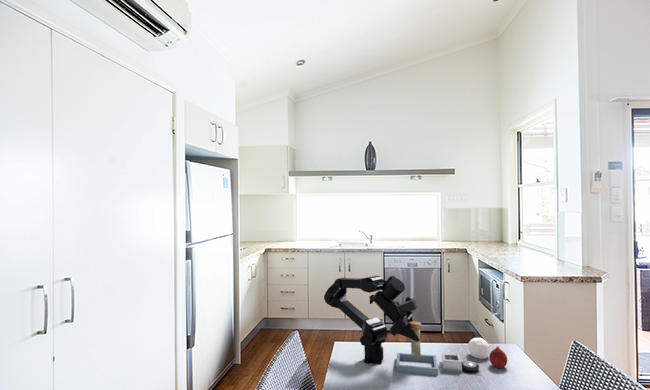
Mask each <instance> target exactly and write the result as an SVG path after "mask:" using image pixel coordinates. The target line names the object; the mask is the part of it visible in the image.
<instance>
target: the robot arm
mask: <svg viewBox="0 0 650 390" xmlns="http://www.w3.org/2000/svg"><path fill="white" fill-rule="evenodd" d="M381 276H382V275H373V276H367V277H363V278H358V277H356V278H355V277H340V278H336V279H335V280H334V282H333V283H332V284H331V285H330V286H329V287H328V288H327V290H326V291H325V293H324V296H323V298H324V299H323V300H324V301H325V304H327V305H328V306H330V307H332V308H336V309H338V310H340V312H342V313H343V314H344V315H346V317H348V318H349V319H350V320H351V321H352V322H353V323H354V324H356V326H358V327H359V328H360V329H361V333H362V335H361V337H359V343H360V345H362V346H364V347H363V349H364V360H363V363H367V364H383V363H382V362H383V361H384V347H383V346H382V344H384V343H386V339H387V337H388V327H386V325H385V323H384V322H382V321H381V320H380V319H379V318H378V317H373V318H369V317H368V316H367V315H366V314H364V312H362V311H361V310H360V309H359V308H357V307H356V306H355V305H354V304H353V303H351V302H350V301H349V300H348V299H347V293H348V289H358V290H361V291H363V292H365V293H369V294H370V293H374V292H376V293H375V294H371V295H370V296H369V304H370V305H372V304H373V303H375V305H376V306H378V307H379V309H380V310H381V311H382V312H383V316H384V317H388V319H389V320H390V321H391V326H390V327H389V333H390V334H391V335H392V336H393V337H395V336H396V335H401V336H404V337H406V338H408V339H410V340H411V339H412V340H414V341H416V342H419V341H420V342H421V338H422V335H421V334H420V339H419V338H418V336H417V335H416V333H415V332H414V331H413V329H412V328H411V323H410V322H414V315H413V314H414V312H415V310H417V308H418V304H417V301H416V299H415V298H414V297H411V296H410V295H409V296H407V297H405V299H404V300H405V301H403V302H399V301H398V300H396V299H397V298H398V297H399V296H400V295H401V294H402V293H403V292H404V291H405V290H406V287H405V283H404V282H403V281H402V280H400V279H399V278H397V277H396V276H395V275H390V276H389V277H388V278H387V279H386V280H385V279H384V278H382V277H381ZM395 300H396V301H395Z"/></svg>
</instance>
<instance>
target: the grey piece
mask: <svg viewBox="0 0 650 390" xmlns="http://www.w3.org/2000/svg"><path fill="white" fill-rule="evenodd" d="M438 364H439V369H440V373H445V374H459V375H470V376H472V375H473V376H482V373H481V370H480V364H478V363H477V362H474V361H470V360H465V361H462V359H461V356H460V354H451V353H441V361H439V363H438Z"/></svg>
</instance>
